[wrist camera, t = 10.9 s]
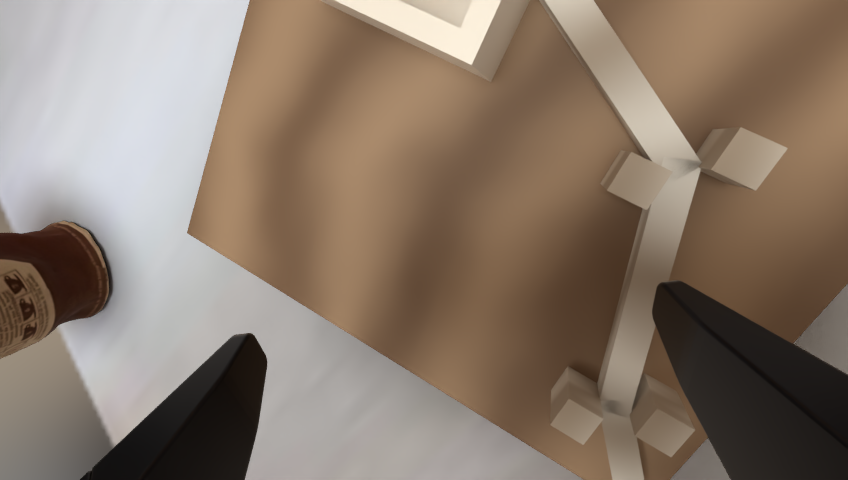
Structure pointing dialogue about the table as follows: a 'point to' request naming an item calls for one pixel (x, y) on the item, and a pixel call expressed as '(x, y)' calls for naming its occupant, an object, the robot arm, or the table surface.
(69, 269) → the coffee cup
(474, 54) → the end holder
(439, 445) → the table surface
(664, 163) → the cable board
